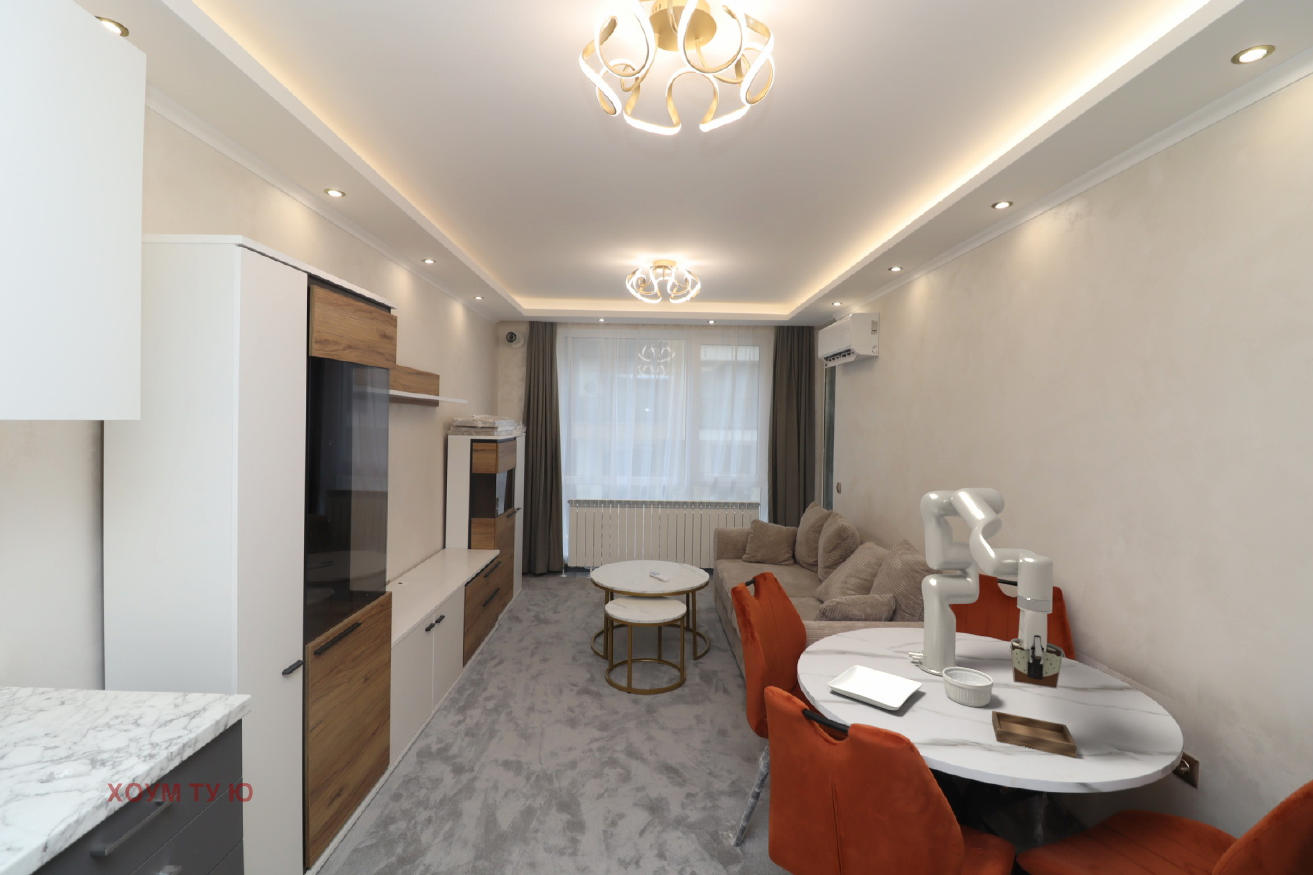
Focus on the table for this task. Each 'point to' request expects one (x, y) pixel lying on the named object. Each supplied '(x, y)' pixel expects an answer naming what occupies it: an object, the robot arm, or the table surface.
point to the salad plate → (874, 687)
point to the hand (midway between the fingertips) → (1032, 673)
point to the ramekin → (967, 686)
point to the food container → (1050, 664)
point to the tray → (1033, 734)
